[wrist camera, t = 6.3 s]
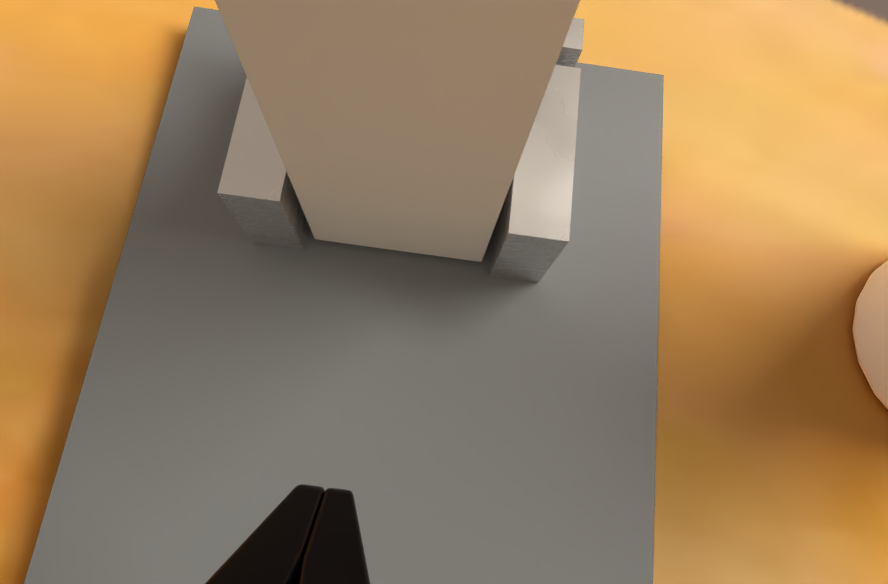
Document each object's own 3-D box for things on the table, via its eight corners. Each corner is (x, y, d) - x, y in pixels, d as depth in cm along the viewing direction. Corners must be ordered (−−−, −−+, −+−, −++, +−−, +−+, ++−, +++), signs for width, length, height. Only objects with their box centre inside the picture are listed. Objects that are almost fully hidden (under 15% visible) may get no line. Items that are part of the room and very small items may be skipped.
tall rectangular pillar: (484, 265, 18) (737, -370, 4) (310, 241, 17) (-14, -494, 4) (500, 114, 19) (727, -718, 6) (341, 91, 19) (177, -820, 5)
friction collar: (538, 283, 18) (569, 241, 14) (253, 244, 18) (217, 192, 14) (553, 94, 20) (584, 19, 16) (296, 57, 19) (272, -27, 16)
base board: (633, 746, 15) (649, 765, 14) (18, 674, 15) (-8, 688, 14) (651, 92, 21) (663, 75, 20) (204, 27, 21) (194, 6, 20)
